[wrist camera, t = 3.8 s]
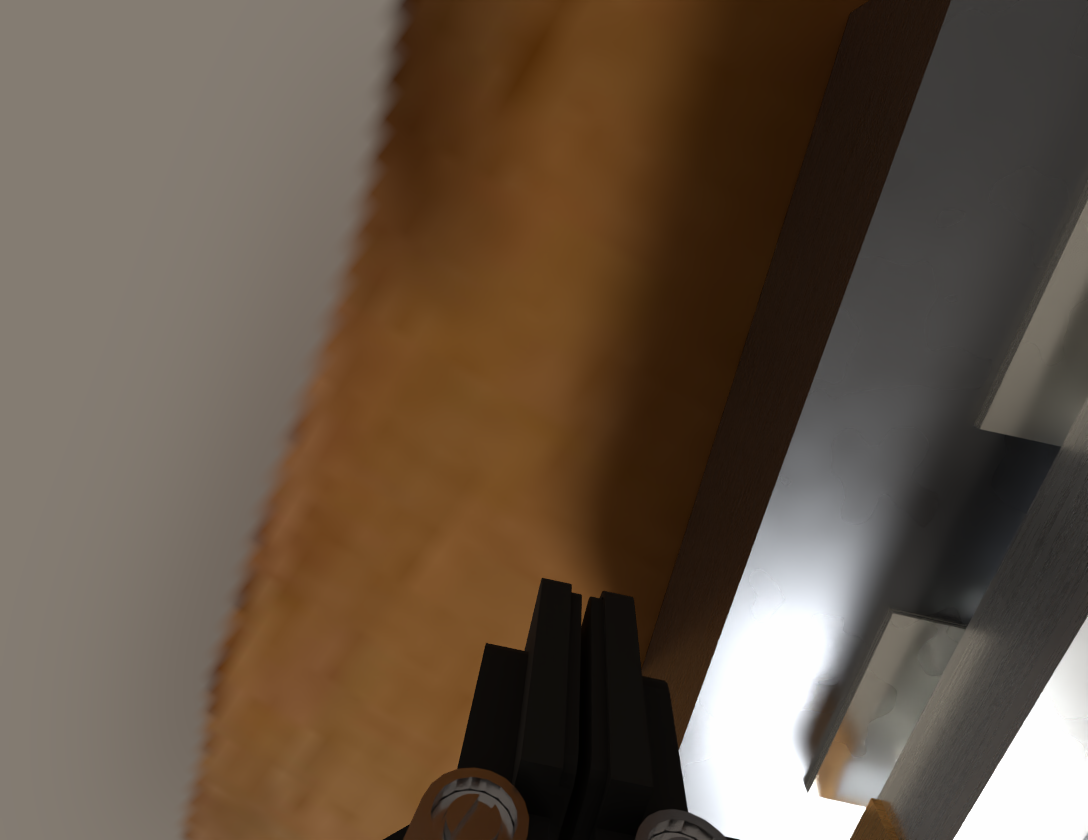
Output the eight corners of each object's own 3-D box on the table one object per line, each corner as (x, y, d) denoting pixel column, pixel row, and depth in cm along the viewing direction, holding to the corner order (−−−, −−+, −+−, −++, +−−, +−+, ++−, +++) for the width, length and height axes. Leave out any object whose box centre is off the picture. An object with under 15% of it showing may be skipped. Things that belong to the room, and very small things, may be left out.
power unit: (909, -173, 13) (1103, -391, 8) (1410, -66, 13) (1916, -217, 8) (640, 673, 20) (654, 832, 15) (957, 741, 20) (1074, 923, 15)
